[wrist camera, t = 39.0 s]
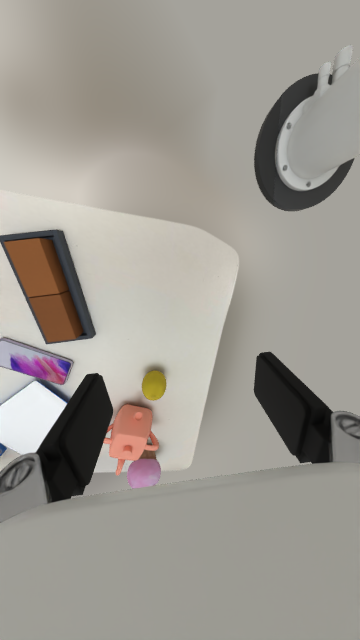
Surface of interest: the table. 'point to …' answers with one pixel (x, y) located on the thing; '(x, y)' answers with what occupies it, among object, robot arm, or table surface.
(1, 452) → the milk carton
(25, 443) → the plate
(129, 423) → the teapot
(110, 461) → the table surface
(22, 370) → the smartphone
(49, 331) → the brown brick
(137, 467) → the cupcake
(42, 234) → the frame
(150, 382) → the lemon
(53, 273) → the brown rectangular block
